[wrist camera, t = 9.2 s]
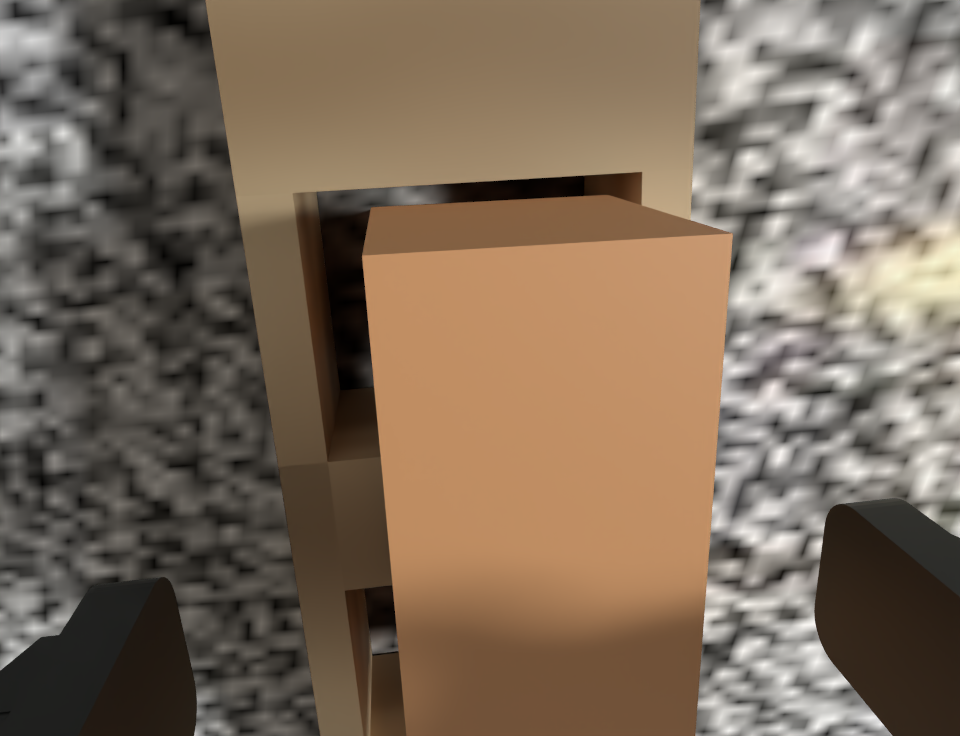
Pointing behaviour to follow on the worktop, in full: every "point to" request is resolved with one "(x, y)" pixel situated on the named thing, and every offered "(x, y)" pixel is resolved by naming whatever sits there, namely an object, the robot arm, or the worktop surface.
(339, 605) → the rail
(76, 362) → the worktop surface
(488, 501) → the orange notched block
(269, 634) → the worktop surface
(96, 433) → the worktop surface
